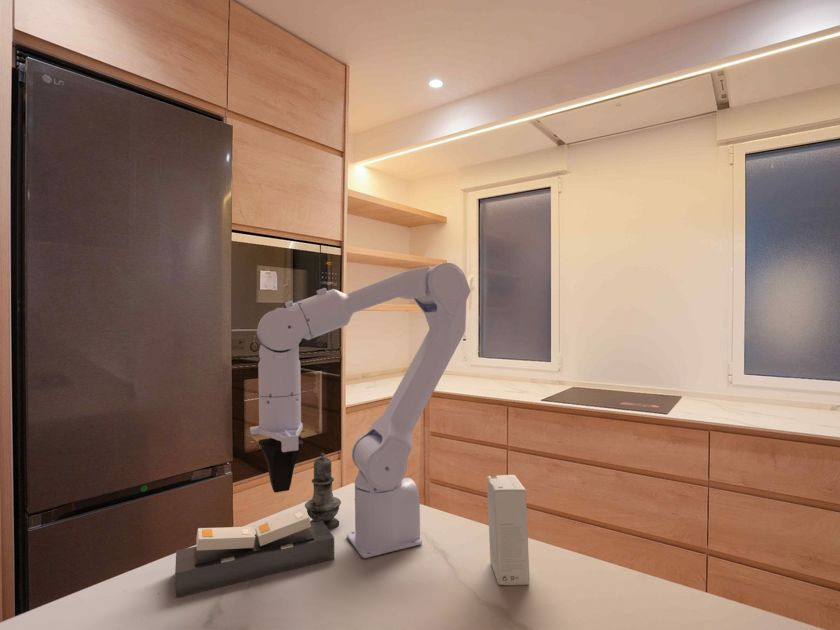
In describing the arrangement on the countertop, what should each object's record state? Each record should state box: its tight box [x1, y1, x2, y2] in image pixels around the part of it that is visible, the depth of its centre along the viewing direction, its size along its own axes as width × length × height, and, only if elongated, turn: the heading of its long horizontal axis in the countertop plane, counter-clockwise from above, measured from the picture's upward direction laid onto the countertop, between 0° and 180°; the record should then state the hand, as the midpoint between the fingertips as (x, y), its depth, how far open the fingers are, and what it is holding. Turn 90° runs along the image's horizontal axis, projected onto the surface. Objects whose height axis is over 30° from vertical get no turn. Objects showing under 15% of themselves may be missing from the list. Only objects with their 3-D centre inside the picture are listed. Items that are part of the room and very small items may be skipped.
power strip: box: [174, 521, 335, 599], centre depth 65 cm, size 20×6×3 cm, turn 116°
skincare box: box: [486, 474, 530, 586], centre depth 63 cm, size 6×4×12 cm
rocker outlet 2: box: [254, 507, 311, 546], centre depth 67 cm, size 7×4×2 cm, turn 117°
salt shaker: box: [304, 452, 342, 532], centre depth 78 cm, size 6×6×12 cm
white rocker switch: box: [195, 526, 256, 551], centre depth 63 cm, size 7×4×2 cm, turn 116°
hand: (281, 490), depth 67 cm, fingers closed
